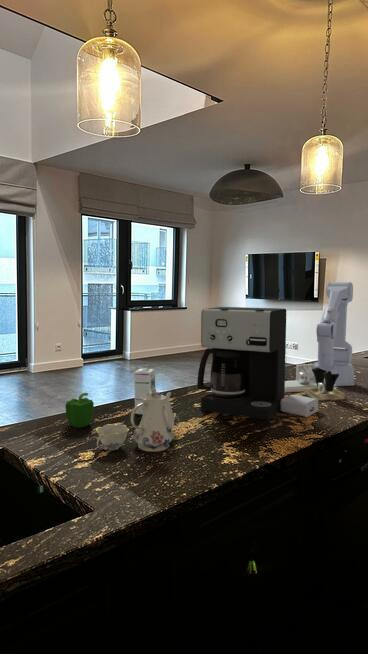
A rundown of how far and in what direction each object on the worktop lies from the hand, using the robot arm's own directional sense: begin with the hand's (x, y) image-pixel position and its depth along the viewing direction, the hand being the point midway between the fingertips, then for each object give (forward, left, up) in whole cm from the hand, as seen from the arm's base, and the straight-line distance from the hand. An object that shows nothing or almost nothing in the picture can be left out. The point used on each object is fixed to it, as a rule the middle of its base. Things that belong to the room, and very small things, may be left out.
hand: (324, 389), depth 174 cm
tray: (0, 0, -3) cm, 3 cm away
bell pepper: (+91, +20, -3) cm, 93 cm away
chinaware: (+72, +39, -3) cm, 82 cm away
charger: (+21, +16, -3) cm, 26 cm away
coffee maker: (+38, +9, -3) cm, 39 cm away
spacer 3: (0, 0, -2) cm, 2 cm away
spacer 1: (+2, -14, -1) cm, 14 cm away
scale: (+2, -15, -3) cm, 15 cm away
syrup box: (+70, +9, -3) cm, 71 cm away
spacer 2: (-5, -14, -1) cm, 15 cm away
